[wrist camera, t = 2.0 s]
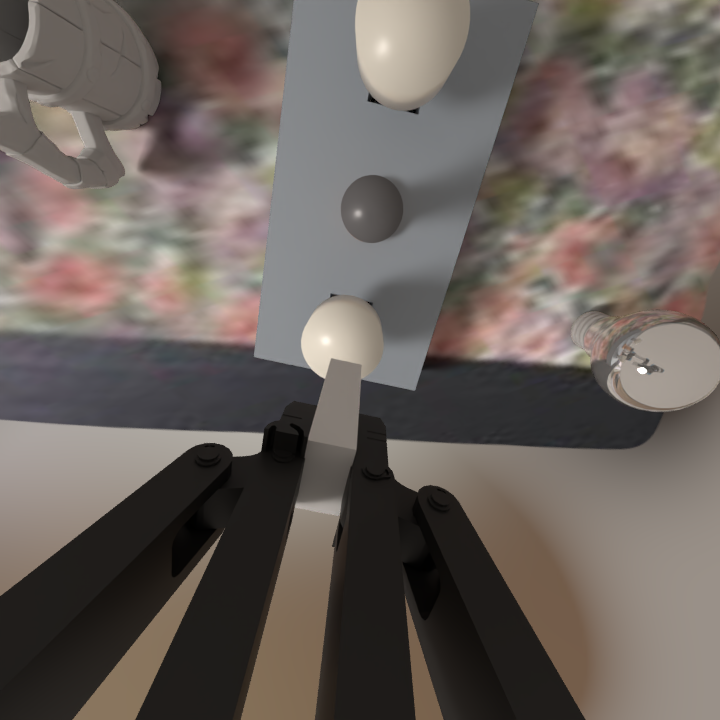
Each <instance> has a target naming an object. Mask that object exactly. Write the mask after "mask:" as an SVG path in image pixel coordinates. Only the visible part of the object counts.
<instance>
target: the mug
mask: <svg viewBox="0 0 720 720" xmlns="http://www.w3.org/2000/svg"><path fill="white" fill-rule="evenodd" d="M158 71H159V65H158V62H157V59H156V57H155V54H154V52H153V50H152V48H151V46H150V44H149V42H148V41H147V39H146V38H145V36H144V35H143V33H142V31H141V30H140V28H139V27H138V25H137V24H136V23H135V21H134V20H133V19H132V18H131V17H130V15H129V14H128V13H127V12H126V11H125V10H124V9H123V8H122V7H121V6H119V5H118V4H117V3H116V2H114V1H113V0H0V150H1V151H3V152H5V153H6V155H8V156H10V157H13V158H15V159H17V160H19V161H21V162H24V163H26V164H28V165H30V166H32V167H33V168H35V169H37V170H39V171H40V172H42V173H43V174H45V175H47V176H49V177H51V178H53V179H55V180H56V181H58V182H60V183H62V184H63V185H64V186H66V187H68V188H71V189H81V188H109V187H112V186H114V185H116V184H117V183H118V181H119V178H121V177H122V176H124V175H125V169H124V167H123V165H122V163H121V161H120V160H119V159H118V157H117V156H116V154H115V152H114V151H113V149H112V147H111V145H110V143H109V141H108V138H107V136H106V134H105V132H104V130H105V131H108V130H110V131H118V130H130V129H135V128H138V127H140V124H142V125H143V124H145V123H146V122H148V115H151V116H153V115H154V113H155V112H156V110H157V107H158V105H159V102H160V96H161V81H160V80H158V79H157V78H158ZM29 100H32V101H34V102H37V103H39V104H41V105H44V106H48V107H61V108H64V109H66V110H67V111H68V112H69V113H70V114H72V117H73V119H74V122H75V124H76V127H77V130H78V132H79V135H80V137H81V139H82V142H83V144H84V147H85V148H84V149H83V150H82V151H81V153H80V155H79V156H78V157H77V158H74V157H72V156H66V155H65V154H64V153H62V152H61V151H60V150H59V149H58V147H57V146H56V145H55V144H54V143H53V142H52V141H50V140H49V139H48V138H47V137H46V136H45V134H44V133H43V132H41V131H39V130H38V129H37V127H36V124H35V121H34V118H33V115H32V111H31V107H30V102H29Z"/></svg>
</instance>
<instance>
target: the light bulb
mask: <svg viewBox="0 0 720 720" xmlns="http://www.w3.org/2000/svg"><path fill="white" fill-rule="evenodd" d="M571 337H572V340H573V342H574V343H575V344H576V345H577V346H579V347H581V348H582V349H584V350H585V351H586V353H587V354H588V356H589V357H590V362H591V370H592V373H593V375H594V378H595V379H596V381H597V383H598V384H599V386H600V387H601V388H602V389H603V390H604V391H605V392H606V393H607V394H608V395H609V396H610V397H612V398H613V399H615V400H616V401H618V402H620V403H622V404H624V405H626V406H629V407H632V408H635V409H639V410H643V411H653V412H667V411H674V410H679V409H683V408H687V407H689V406H692V405H694V404H696V403H697V402H699V401H701V400H703V399H704V398H706V397H707V396H708V395H709V394H711V393H712V392H713V391H714V389H715V388H716V387H717V386H718V384H719V382H720V340H719V339H718V337H717V336H716V334H715V333H714V332H713V331H712V330H711V329H710V328H709V327H707V326H706V325H705V324H704V323H702V322H701V321H699V320H697V319H695V318H693V317H691V316H689V315H686V314H683V313H679V312H675V311H669V310H646V311H639V312H635V313H632V314H629V315H625V316H623V317H620V316H609V315H607V314H604V313H602V312H598V311H590V312H587V313H584V314H583V315H581V316H580V317H579V318H578V319H576V321H575V322H574V323H573V325H572V328H571Z"/></svg>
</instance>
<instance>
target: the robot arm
mask: <svg viewBox="0 0 720 720" xmlns="http://www.w3.org/2000/svg"><path fill="white" fill-rule="evenodd" d="M361 369H362V365H361V364H356V363H352V362H347V361H342V360H338V359H333V358H331V360H330V364H329V367H328V371H327V374H326V377H325V381H324V384H323V388H322V391H321V395H320V398H319V402H318V405H317V406H315V405H311V404H306V403H301V402H296V401H294V402H292V403H291V404H289V405H288V406H286V408H285V410H284V412H283V415H282V417H281V419H280V420H279V421H274V422H272V423H270V424H268V425H267V426H266V427H265V429H264V436H263V443H262V450H261V452H260V453H258V454H255V455H251V456H243V457H233V454H232V452H231V451H230V449H229V448H227V447H225V446H223V445H220V444H215V443H204V444H201V445H197V446H195V447H192V448H191V449H189V450H187V451H186V452H185V453H184V454H182V455H181V456H180V457H178V458H177V459H176V460H175V461H173V462H172V463H171V464H169V465H168V466H167V467H166V468H164V469H163V470H162V471H160V472H159V473H158V474H157V475H155V476H154V477H153V478H151V479H150V480H149V481H148V482H147V483H145V484H144V485H142V486H141V487H140V488H139V489H137V490H136V491H135V492H134V493H132V494H131V495H130V496H128V497H127V498H126V499H125V500H124V501H122V502H121V503H120V504H118V505H117V506H116V507H114V508H113V509H112V510H110V511H109V512H108V513H107V514H105V515H104V516H103V517H101V518H100V519H99V520H98V521H96V522H95V523H94V524H93V525H91V526H90V527H89V528H88V529H86V530H85V531H83V532H82V533H81V534H80V535H78V536H77V537H76V538H74V540H72V541H71V542H69V543H68V544H67V545H66V546H64V547H63V548H62V549H60V550H59V551H58V552H57V553H55V554H54V555H53V556H51V557H50V558H49V559H48V560H46V561H45V562H44V563H42V564H41V565H40V566H39V567H37V568H36V569H35V570H34V571H32V572H31V573H30V574H28V575H27V576H26V577H24V578H23V579H22V580H21V581H20V582H18V583H17V584H15V585H14V586H13V587H12V588H11V589H9V590H8V591H6V592H5V593H4V594H3V595H1V596H0V720H72V719H73V718H74V717H75V716H76V714H77V713H78V712H79V711H80V709H81V708H82V707H83V706H84V704H85V703H86V702H87V701H88V699H89V698H90V697H91V696H92V695H93V693H94V692H95V691H96V689H97V688H98V687H99V686H100V684H101V683H102V682H103V681H104V680H105V678H106V677H107V676H108V675H109V673H110V672H111V671H112V670H113V668H114V667H115V666H116V664H117V663H118V662H119V661H120V660H121V658H122V657H123V656H124V655H125V653H126V652H127V650H129V648H130V647H131V646H132V645H133V643H134V642H135V641H136V639H137V638H138V637H139V636H140V634H141V633H142V632H143V631H144V630H145V628H146V627H147V626H148V625H149V623H150V622H151V621H152V620H153V618H154V617H155V616H156V615H157V613H158V612H159V611H160V610H161V609H162V607H163V606H164V605H165V604H166V602H167V601H168V600H169V599H170V597H171V596H172V595H173V594H174V592H175V591H176V590H177V589H178V587H179V586H180V585H181V584H182V582H183V581H184V580H185V579H186V577H187V576H188V575H189V574H190V572H191V571H192V570H193V568H194V567H195V566H196V565H197V563H198V562H199V561H200V560H201V558H202V557H203V556H204V555H205V554H206V552H207V551H208V550H209V549H210V547H211V546H212V545H213V544H214V543H215V541H216V540H217V539H218V538H219V536H220V535H221V534H222V532H223V531H224V532H223V534H222V536H221V538H220V540H219V542H218V545H217V547H216V549H215V551H214V553H213V555H212V557H211V559H210V562H209V564H208V566H207V568H206V570H205V572H204V574H203V577H202V579H201V581H200V583H199V585H198V587H197V589H196V592H195V594H194V596H193V598H192V600H191V602H190V605H189V607H188V609H187V611H186V613H185V615H184V617H183V619H182V621H181V624H180V626H179V628H178V630H177V632H176V634H175V636H174V639H173V641H172V643H171V645H170V647H169V649H168V651H167V653H166V656H165V658H164V660H163V662H162V664H161V666H160V668H159V670H158V673H157V675H156V677H155V679H154V681H153V684H152V685H151V688H150V690H149V692H148V694H147V696H146V698H145V701H144V703H143V705H142V707H141V709H140V711H139V713H138V715H137V718H136V720H241V716H242V712H243V708H244V704H245V700H246V697H247V693H248V689H249V685H250V681H251V677H252V673H253V670H254V665H255V662H256V658H257V654H258V650H259V646H260V642H261V638H262V635H263V631H264V627H265V623H266V619H267V615H268V611H269V608H270V604H271V600H272V596H273V592H274V588H275V584H276V580H277V577H278V573H279V568H280V565H281V561H282V557H283V553H284V550H285V546H286V542H287V538H288V534H289V530H290V526H291V522H292V518H293V513H294V508H299V509H304V510H310V511H315V512H320V513H325V514H331V515H336V516H339V514H340V519H339V523H338V526H337V530H336V534H335V537H334V541H333V545H332V547H335V548H334V557H333V566H332V575H331V583H330V592H329V601H328V610H327V618H326V628H325V636H324V645H323V653H322V654H323V655H322V663H321V671H320V680H319V689H318V697H317V706H316V715H315V720H416V719H415V707H414V696H413V685H412V673H411V662H410V650H409V639H408V627H407V616H406V606H405V596H406V599H407V603H408V606H409V609H410V612H411V616H412V619H413V622H414V625H415V629H416V631H417V635H418V638H419V642H420V645H421V648H422V651H423V654H424V658H425V661H426V664H427V667H428V671H429V674H430V677H431V680H432V683H433V687H434V690H435V693H436V696H437V699H438V703H439V706H440V709H441V712H442V716H443V719H444V720H585V718H584V716H583V715H582V713H581V712H580V709H579V708H578V706H577V704H576V703H575V701H574V699H573V697H572V696H571V694H570V692H569V691H568V689H567V687H566V685H565V684H564V682H563V680H562V679H561V677H560V675H559V673H558V672H557V670H556V668H555V667H554V665H553V663H552V661H551V660H550V658H549V656H548V655H547V653H546V651H545V649H544V648H543V646H542V644H541V642H540V641H539V639H538V637H537V636H536V634H535V632H534V631H533V629H532V627H531V625H530V624H529V622H528V620H527V618H526V617H525V615H524V613H523V612H522V610H521V608H520V606H519V605H518V603H517V601H516V600H515V598H514V596H513V594H512V593H511V591H510V589H509V588H508V586H507V584H506V582H505V581H504V579H503V577H502V575H501V574H500V572H499V570H498V569H497V567H496V565H495V564H494V562H493V560H492V558H491V556H490V555H489V553H488V552H487V550H486V548H485V547H484V544H483V543H482V541H481V539H480V538H479V536H478V534H477V532H476V531H475V529H474V527H473V526H472V524H471V522H470V521H469V519H468V517H467V516H466V513H465V512H464V510H463V508H462V507H461V505H460V503H459V502H458V501H457V499H456V498H455V497H454V495H452V494H451V493H449V492H448V491H447V490H445V489H443V488H440V487H438V486H432V485H429V486H424V487H422V488H421V489H419V491H418V492H415V491H413V490H411V489H409V488H407V487H405V486H403V485H401V484H400V483H399V482H397V481H396V480H395V479H394V475H393V472H392V470H391V469H390V468H389V467H388V456H387V443H386V441H387V440H386V426H385V425H384V423H383V422H382V420H381V419H380V418H377V417H372V416H368V415H363V414H359V402H360V386H361ZM340 510H341V511H340ZM224 529H225V530H224Z"/></svg>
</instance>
